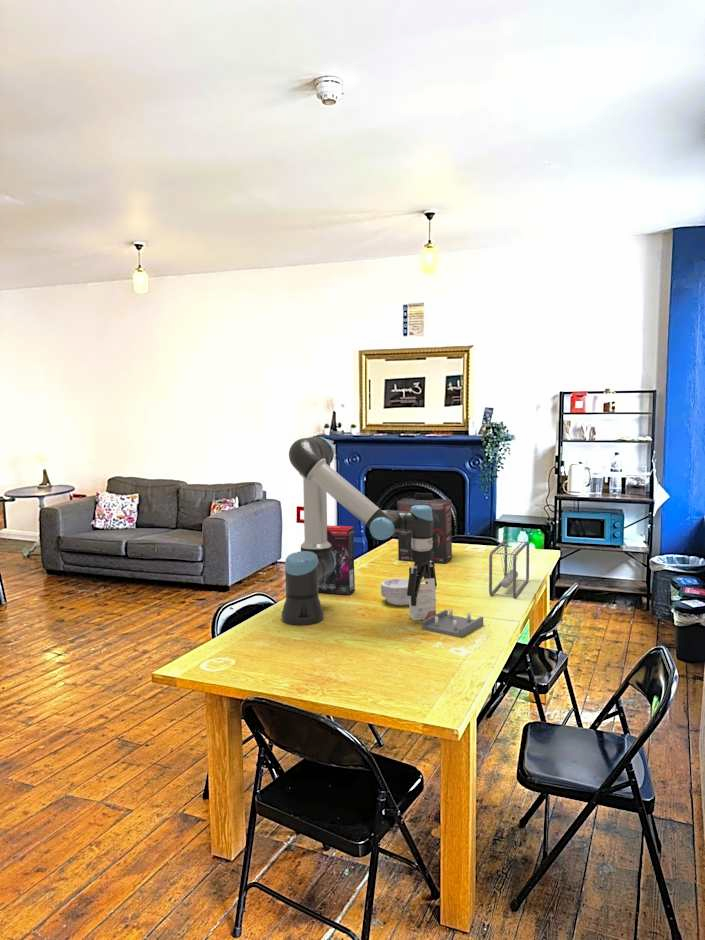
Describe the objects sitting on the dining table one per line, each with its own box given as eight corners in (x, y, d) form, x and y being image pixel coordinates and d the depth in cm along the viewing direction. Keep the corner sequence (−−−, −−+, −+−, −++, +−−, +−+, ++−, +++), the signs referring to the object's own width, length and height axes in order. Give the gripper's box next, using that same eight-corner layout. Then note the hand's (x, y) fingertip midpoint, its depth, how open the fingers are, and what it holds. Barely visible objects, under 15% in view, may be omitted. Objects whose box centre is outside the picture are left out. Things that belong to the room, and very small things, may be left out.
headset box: (396, 560, 340) (396, 493, 336) (404, 555, 351) (404, 490, 348) (446, 564, 330) (445, 495, 327) (452, 558, 342) (452, 492, 339)
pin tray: (461, 637, 227) (461, 625, 227) (422, 629, 236) (421, 617, 236) (483, 624, 240) (483, 612, 240) (445, 617, 249) (445, 605, 249)
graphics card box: (310, 592, 284) (309, 527, 282) (317, 588, 291) (315, 524, 288) (350, 595, 279) (348, 529, 276) (355, 591, 285) (354, 526, 283)
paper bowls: (392, 595, 279) (392, 575, 278) (426, 600, 271) (426, 580, 270) (374, 604, 266) (373, 584, 265) (409, 610, 258) (409, 589, 257)
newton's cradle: (515, 599, 270) (515, 554, 269) (488, 596, 275) (488, 552, 273) (529, 581, 298) (529, 540, 296) (504, 578, 302) (504, 538, 300)
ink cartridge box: (431, 614, 252) (430, 574, 251) (436, 618, 248) (436, 578, 246) (408, 616, 250) (408, 576, 249) (413, 620, 245) (413, 580, 244)
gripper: (414, 556, 236) (415, 620, 238) (446, 544, 253) (446, 605, 255) (396, 553, 240) (396, 616, 242) (428, 542, 258) (429, 601, 260)
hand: (422, 610), depth 249 cm, fingers closed on ink cartridge box, 9 cm apart
